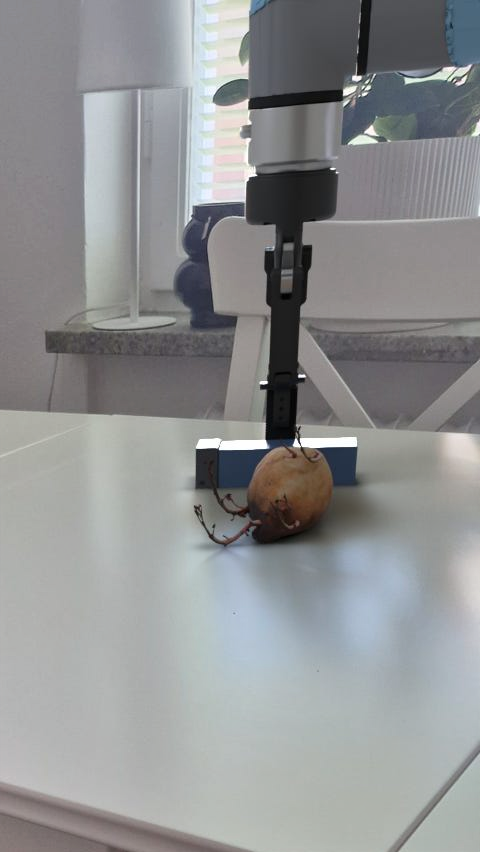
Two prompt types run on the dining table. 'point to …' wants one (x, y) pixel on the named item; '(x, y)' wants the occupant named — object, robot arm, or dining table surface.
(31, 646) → the dining table surface
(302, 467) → the vegetable
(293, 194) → the robot arm
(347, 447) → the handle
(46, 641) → the dining table surface
